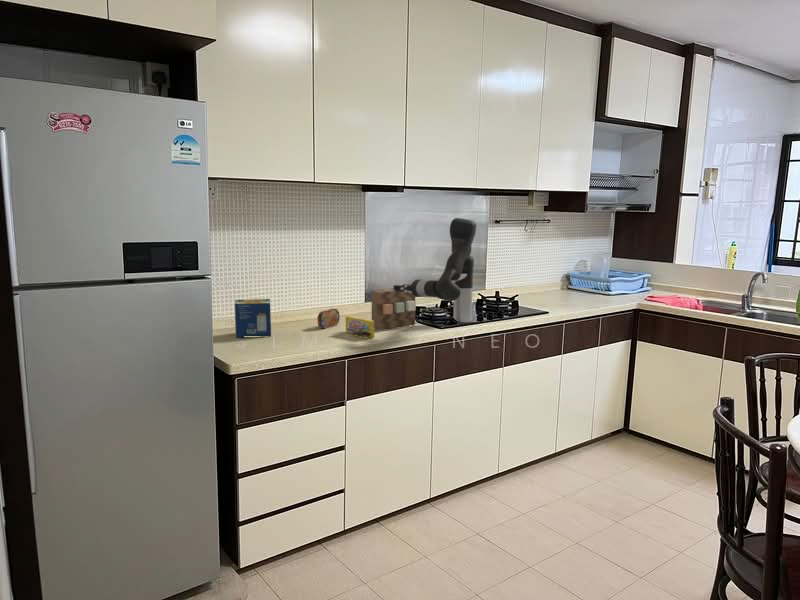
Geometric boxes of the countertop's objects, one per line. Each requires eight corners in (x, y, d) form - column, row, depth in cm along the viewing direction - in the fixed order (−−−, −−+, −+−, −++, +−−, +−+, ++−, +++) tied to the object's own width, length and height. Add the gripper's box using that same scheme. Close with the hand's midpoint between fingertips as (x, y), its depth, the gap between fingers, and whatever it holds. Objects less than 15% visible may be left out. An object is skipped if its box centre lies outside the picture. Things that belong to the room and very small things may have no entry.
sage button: (400, 310, 282) (400, 301, 282) (404, 311, 280) (404, 302, 279) (393, 311, 280) (393, 302, 279) (397, 312, 277) (397, 303, 277)
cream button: (411, 309, 287) (411, 300, 286) (415, 310, 284) (415, 301, 283) (404, 310, 284) (404, 301, 283) (408, 311, 282) (408, 302, 281)
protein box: (236, 333, 268) (235, 299, 265) (271, 331, 271) (270, 298, 268) (235, 338, 258) (234, 303, 255) (271, 337, 261) (270, 302, 258)
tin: (321, 330, 275) (321, 312, 274) (316, 329, 277) (316, 311, 275) (340, 324, 288) (340, 307, 287) (335, 323, 290) (334, 306, 288)
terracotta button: (388, 312, 278) (388, 303, 277) (392, 313, 276) (392, 304, 275) (381, 313, 275) (381, 304, 275) (385, 314, 273) (385, 305, 272)
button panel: (405, 322, 293) (406, 286, 290) (414, 325, 288) (415, 288, 285) (371, 328, 280) (371, 290, 277) (380, 330, 275) (380, 292, 272)
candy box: (345, 334, 268) (345, 316, 267) (348, 333, 270) (348, 315, 268) (371, 339, 258) (371, 321, 256) (374, 338, 259) (374, 320, 258)
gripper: (436, 279, 256) (414, 278, 269) (410, 280, 248) (388, 279, 261) (436, 296, 256) (414, 294, 269) (410, 297, 248) (389, 296, 261)
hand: (402, 287), depth 265 cm, fingers open, 8 cm apart
